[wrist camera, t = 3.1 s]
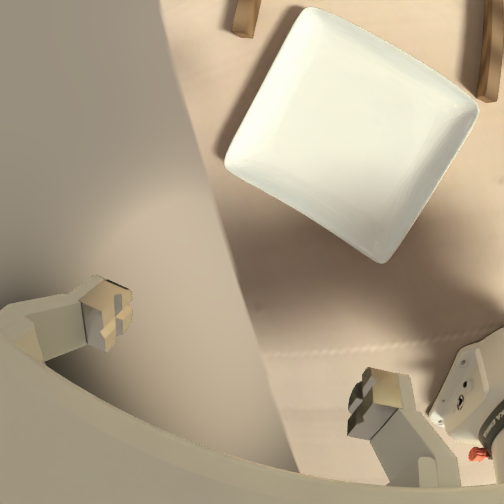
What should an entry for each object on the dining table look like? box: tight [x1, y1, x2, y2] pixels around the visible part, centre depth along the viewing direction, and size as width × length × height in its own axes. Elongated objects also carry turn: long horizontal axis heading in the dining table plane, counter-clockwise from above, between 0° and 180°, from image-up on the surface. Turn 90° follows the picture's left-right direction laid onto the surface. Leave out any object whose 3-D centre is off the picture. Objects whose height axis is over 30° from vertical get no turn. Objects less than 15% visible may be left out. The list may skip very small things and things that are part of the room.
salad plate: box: [224, 7, 480, 264], centre depth 30 cm, size 21×21×3 cm
